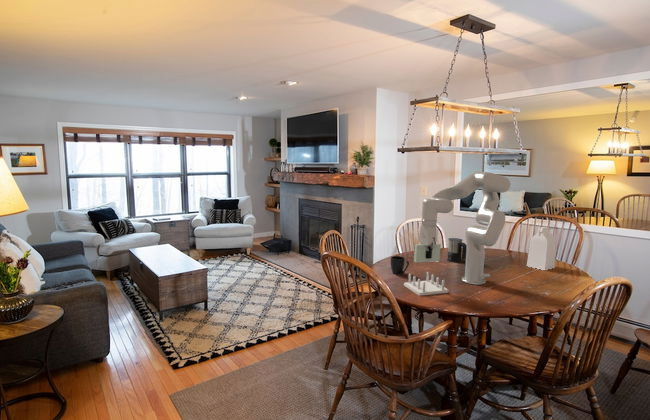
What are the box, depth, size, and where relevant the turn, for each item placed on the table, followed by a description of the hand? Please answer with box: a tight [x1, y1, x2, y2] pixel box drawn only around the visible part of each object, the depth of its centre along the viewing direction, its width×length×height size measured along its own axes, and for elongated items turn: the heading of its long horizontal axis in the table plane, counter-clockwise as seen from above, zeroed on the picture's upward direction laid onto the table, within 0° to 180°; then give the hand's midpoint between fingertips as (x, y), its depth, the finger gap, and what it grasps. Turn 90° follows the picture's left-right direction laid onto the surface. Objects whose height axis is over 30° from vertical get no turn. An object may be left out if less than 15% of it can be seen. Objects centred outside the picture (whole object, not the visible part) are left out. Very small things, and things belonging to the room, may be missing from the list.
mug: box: [390, 255, 410, 275], centre depth 225 cm, size 8×12×10 cm
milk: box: [526, 226, 557, 271], centre depth 241 cm, size 12×12×26 cm
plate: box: [413, 242, 442, 263], centre depth 197 cm, size 14×2×9 cm, turn 107°
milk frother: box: [446, 237, 467, 263], centre depth 256 cm, size 14×16×15 cm
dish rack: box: [403, 271, 450, 296], centre depth 200 cm, size 17×16×6 cm
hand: (427, 257), depth 198 cm, fingers closed on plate, 2 cm apart
